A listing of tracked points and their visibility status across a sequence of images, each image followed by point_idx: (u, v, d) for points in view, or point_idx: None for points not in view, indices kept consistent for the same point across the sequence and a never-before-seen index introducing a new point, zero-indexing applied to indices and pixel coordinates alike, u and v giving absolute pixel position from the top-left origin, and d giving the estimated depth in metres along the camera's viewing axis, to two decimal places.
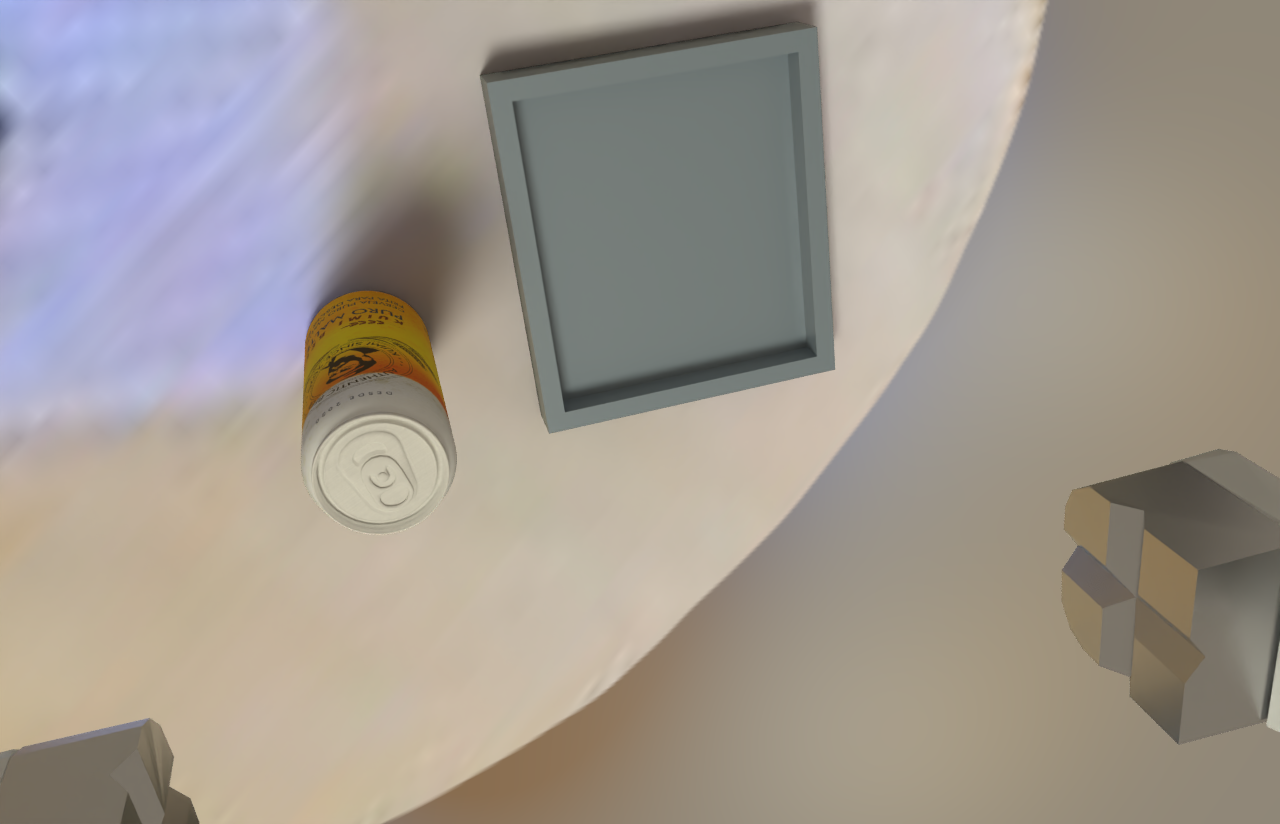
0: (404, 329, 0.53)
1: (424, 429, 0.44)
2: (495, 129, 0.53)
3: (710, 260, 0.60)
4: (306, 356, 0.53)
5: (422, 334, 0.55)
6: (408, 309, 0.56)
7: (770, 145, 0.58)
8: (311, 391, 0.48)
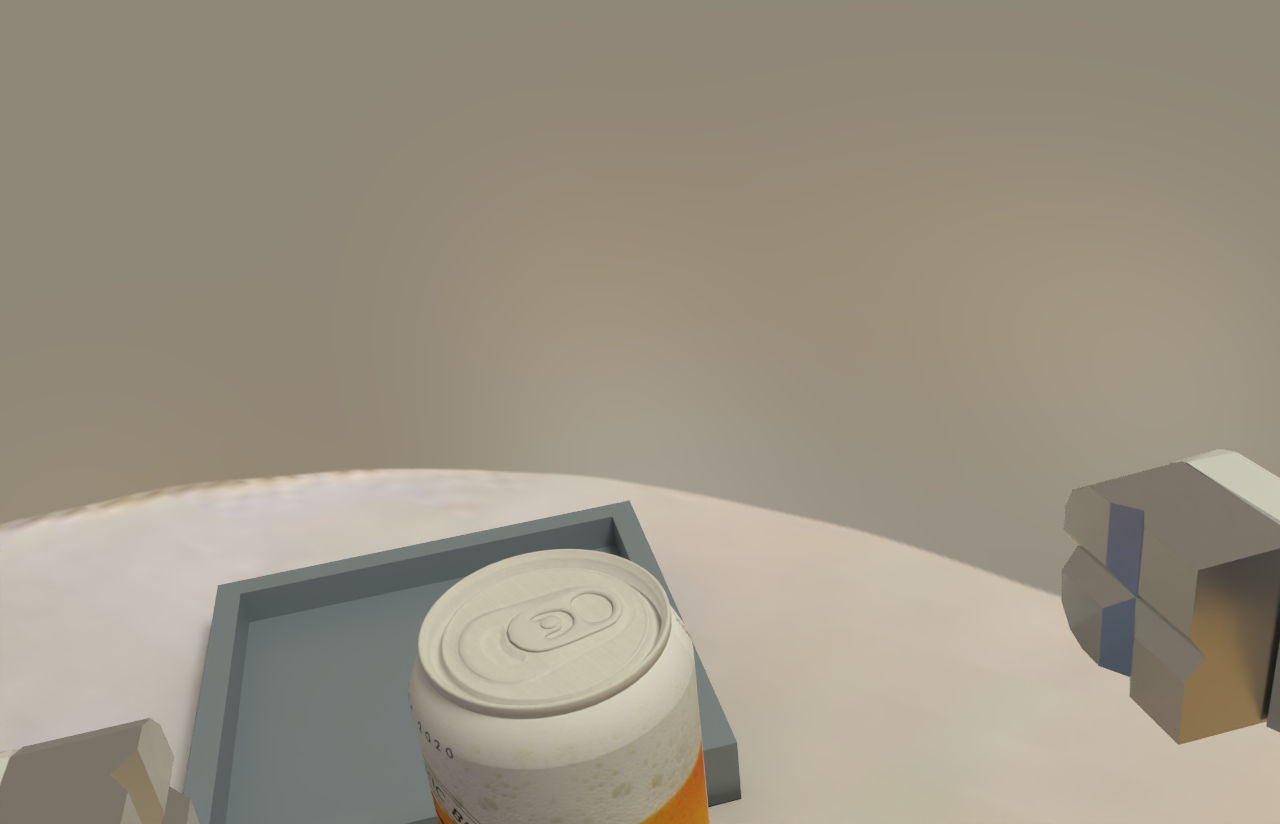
0: None
1: (460, 582, 0.25)
2: None
3: None
4: None
5: None
6: None
7: (358, 615, 0.48)
8: None
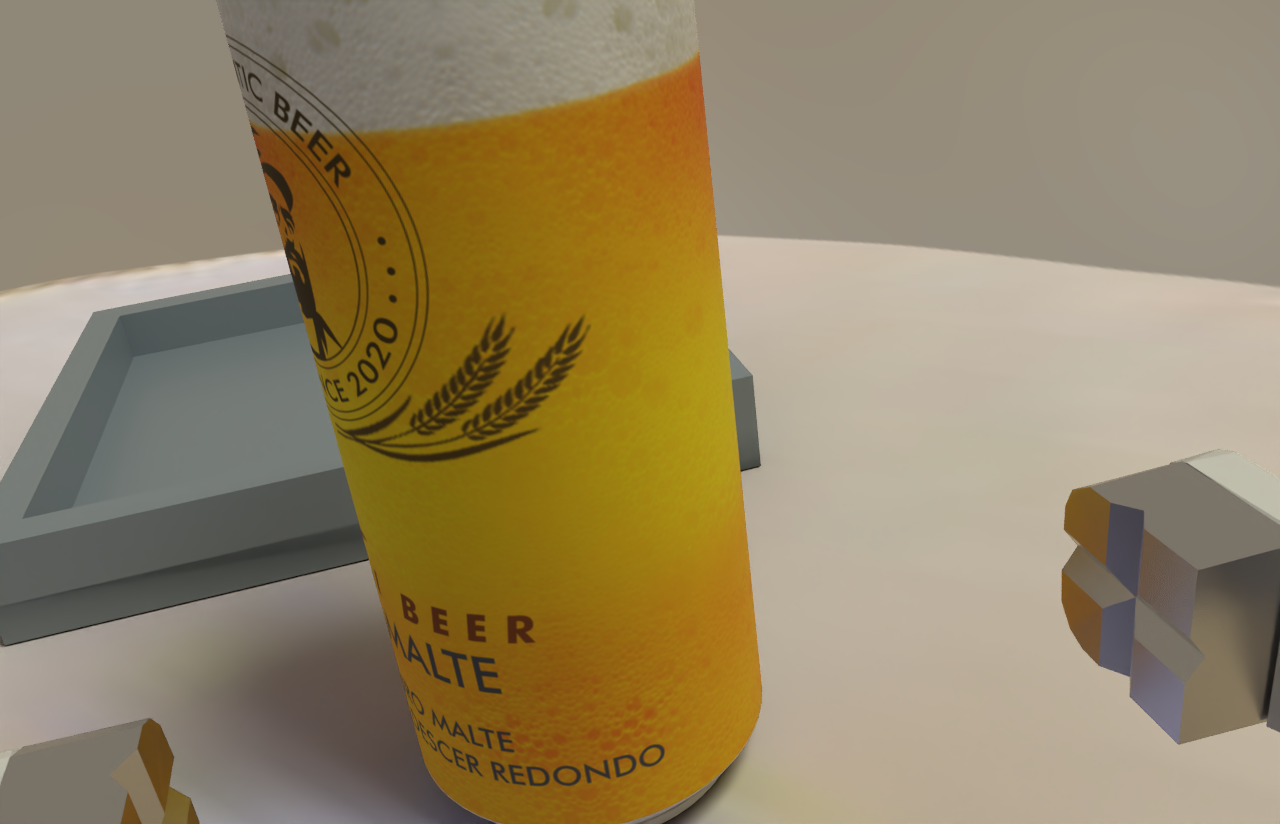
0: None
1: None
2: (66, 530, 0.25)
3: None
4: (497, 665, 0.16)
5: None
6: None
7: (269, 341, 0.38)
8: (357, 274, 0.14)
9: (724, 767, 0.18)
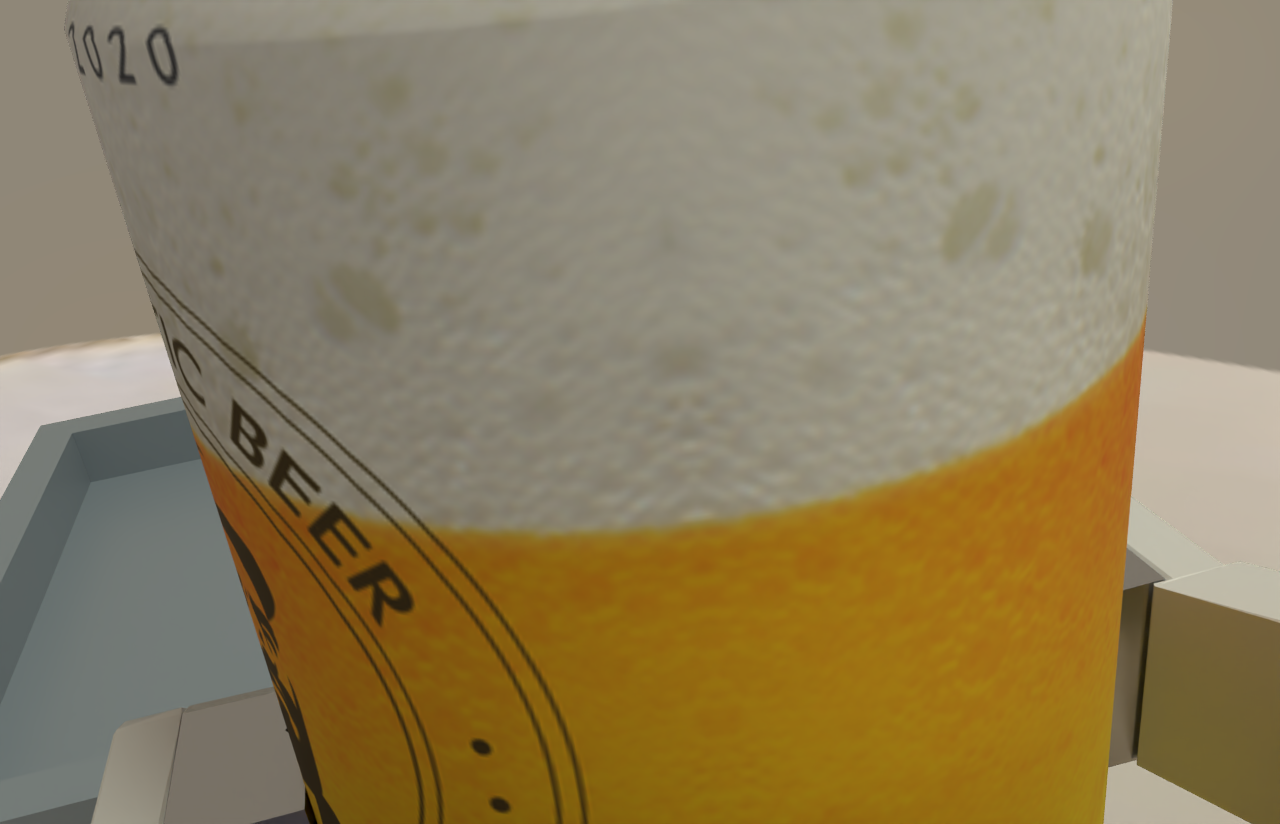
0: None
1: None
2: None
3: None
4: None
5: None
6: None
7: None
8: (420, 791, 0.06)
9: None
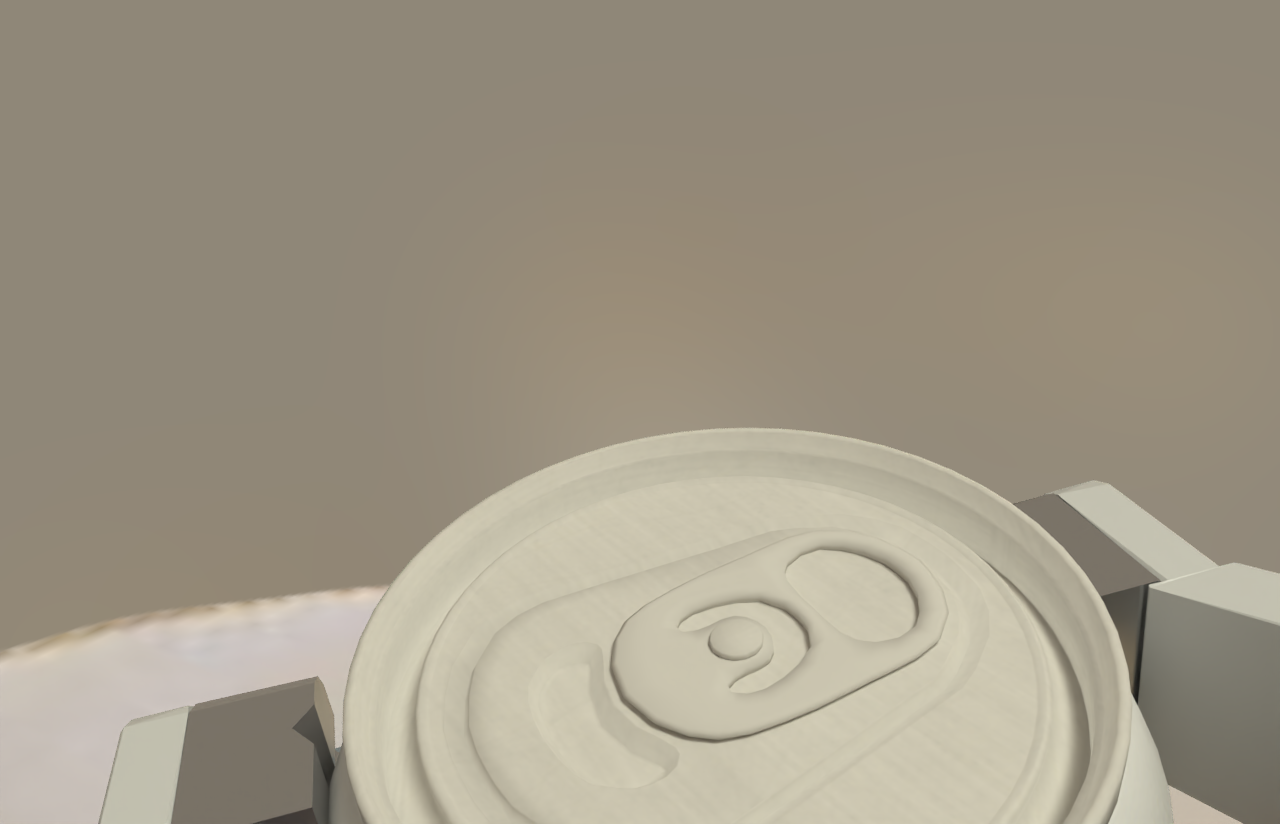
0: None
1: (474, 512, 0.09)
2: None
3: None
4: None
5: None
6: None
7: None
8: None
9: None
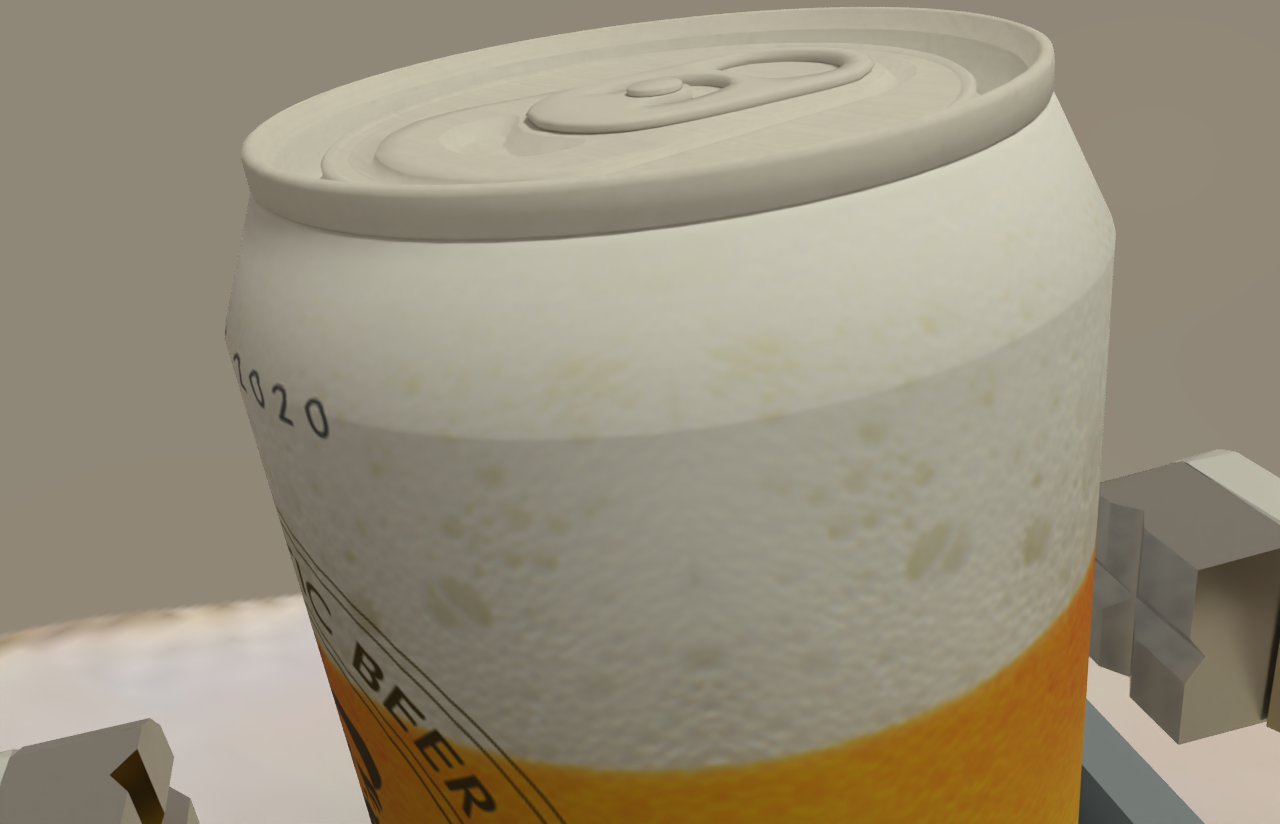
0: None
1: (403, 69, 0.09)
2: None
3: None
4: None
5: None
6: None
7: None
8: None
9: None
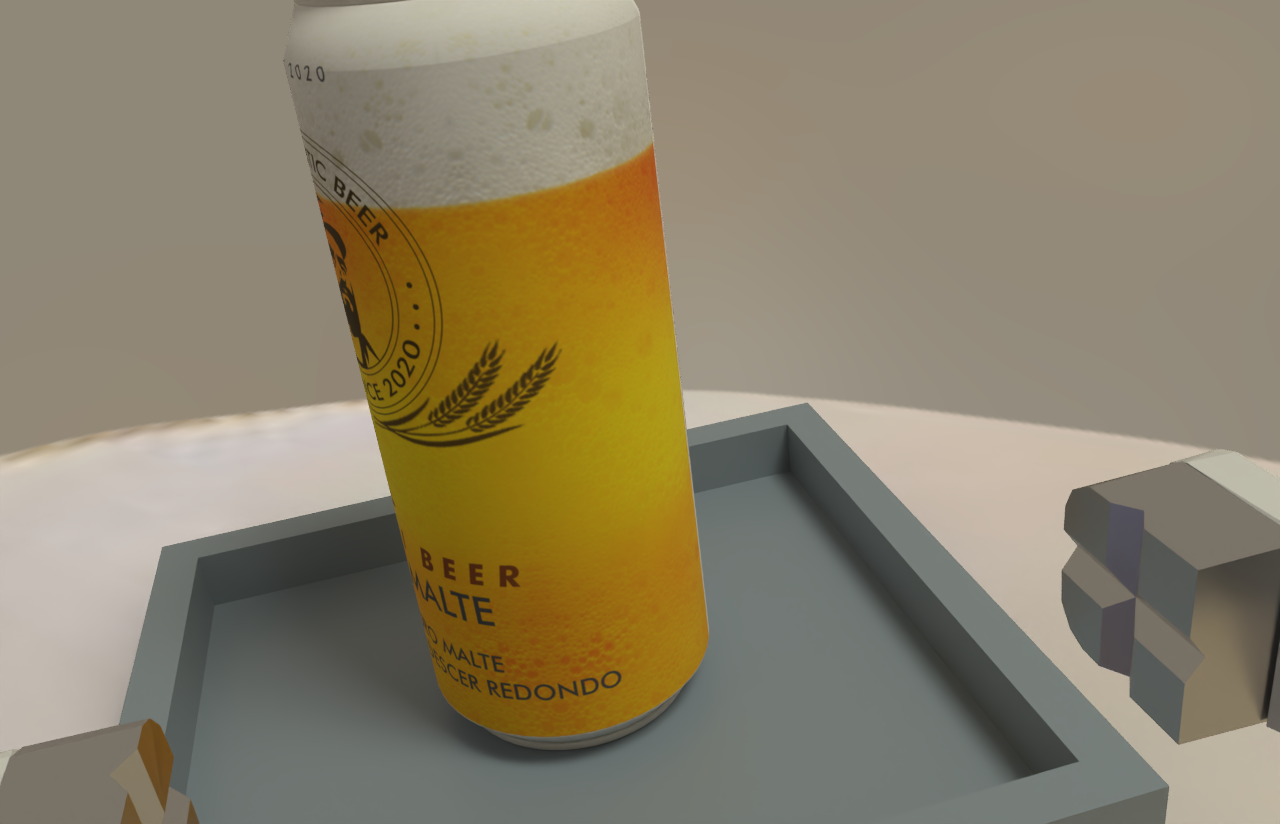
0: None
1: None
2: None
3: None
4: (491, 603, 0.21)
5: None
6: None
7: (392, 589, 0.30)
8: (391, 308, 0.19)
9: (671, 694, 0.23)
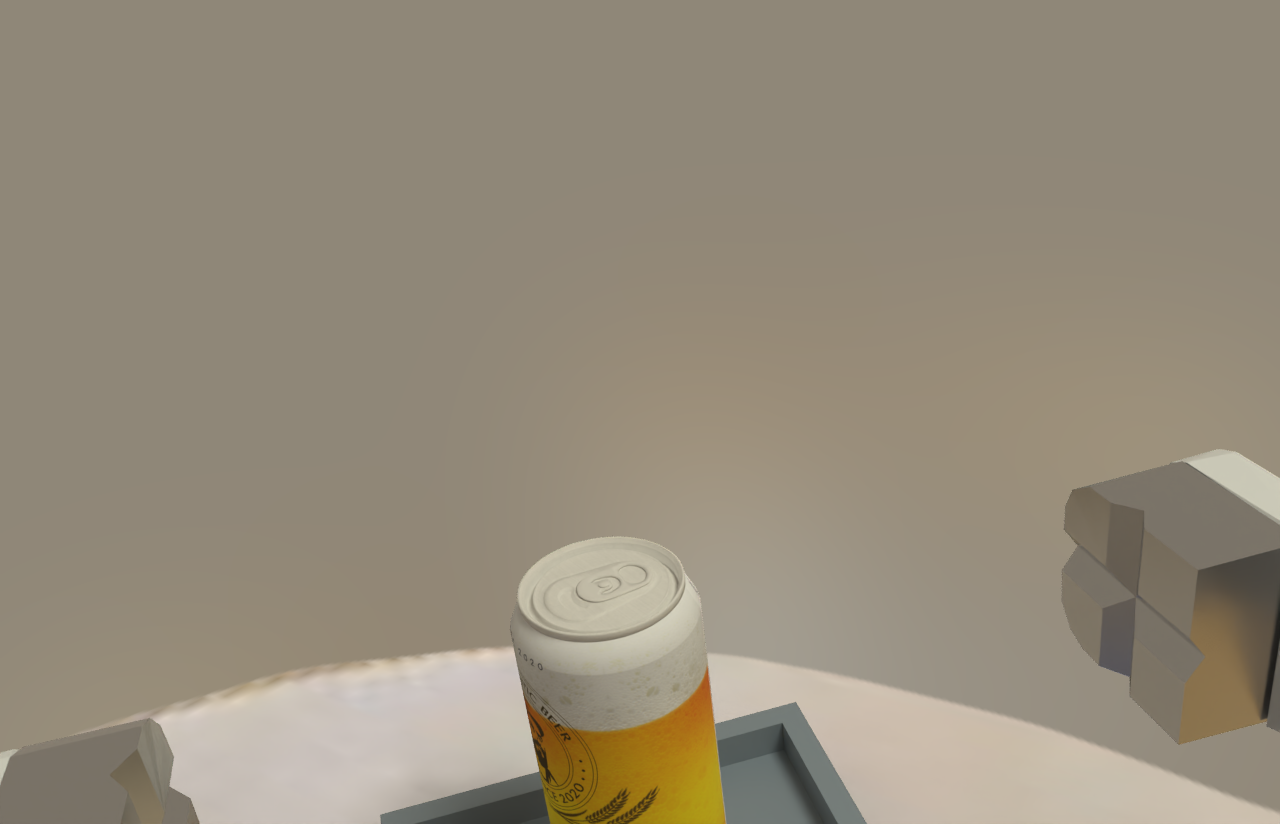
0: None
1: (543, 558, 0.37)
2: None
3: None
4: None
5: None
6: None
7: None
8: (569, 768, 0.36)
9: None
